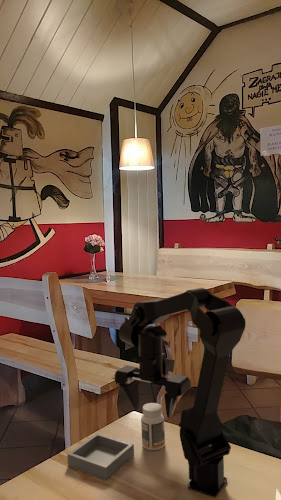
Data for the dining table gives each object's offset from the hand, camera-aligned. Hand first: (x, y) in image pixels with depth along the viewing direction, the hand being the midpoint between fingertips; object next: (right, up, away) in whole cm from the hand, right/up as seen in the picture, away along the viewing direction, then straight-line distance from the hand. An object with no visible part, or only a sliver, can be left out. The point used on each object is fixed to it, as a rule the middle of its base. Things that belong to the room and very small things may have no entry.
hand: (152, 413), depth 110 cm
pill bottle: (0, -8, +1) cm, 9 cm away
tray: (-12, -9, -5) cm, 16 cm away
